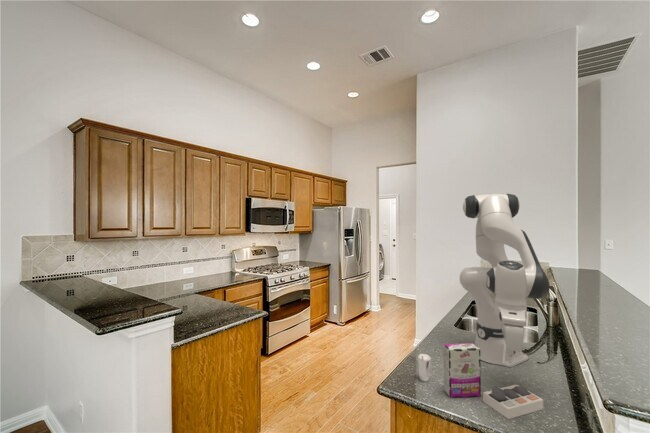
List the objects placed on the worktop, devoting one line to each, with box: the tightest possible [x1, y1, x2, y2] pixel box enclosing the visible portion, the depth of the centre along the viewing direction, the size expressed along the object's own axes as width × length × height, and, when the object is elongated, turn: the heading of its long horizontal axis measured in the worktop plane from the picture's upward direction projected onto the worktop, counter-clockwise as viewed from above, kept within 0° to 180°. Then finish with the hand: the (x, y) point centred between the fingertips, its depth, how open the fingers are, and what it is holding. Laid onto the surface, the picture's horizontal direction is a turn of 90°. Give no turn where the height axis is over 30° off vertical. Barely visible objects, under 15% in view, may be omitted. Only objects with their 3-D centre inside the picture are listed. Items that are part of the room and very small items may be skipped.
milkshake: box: [417, 353, 432, 382], centre depth 110 cm, size 4×5×10 cm
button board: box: [482, 384, 544, 420], centre depth 95 cm, size 15×9×3 cm, turn 109°
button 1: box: [491, 387, 505, 402], centre depth 95 cm, size 4×4×3 cm
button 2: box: [514, 385, 529, 396], centre depth 98 cm, size 4×4×3 cm
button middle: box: [504, 389, 517, 399], centre depth 96 cm, size 4×4×3 cm
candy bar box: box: [442, 342, 482, 399], centre depth 102 cm, size 11×5×16 cm, turn 94°
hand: (509, 353), depth 96 cm, fingers closed
